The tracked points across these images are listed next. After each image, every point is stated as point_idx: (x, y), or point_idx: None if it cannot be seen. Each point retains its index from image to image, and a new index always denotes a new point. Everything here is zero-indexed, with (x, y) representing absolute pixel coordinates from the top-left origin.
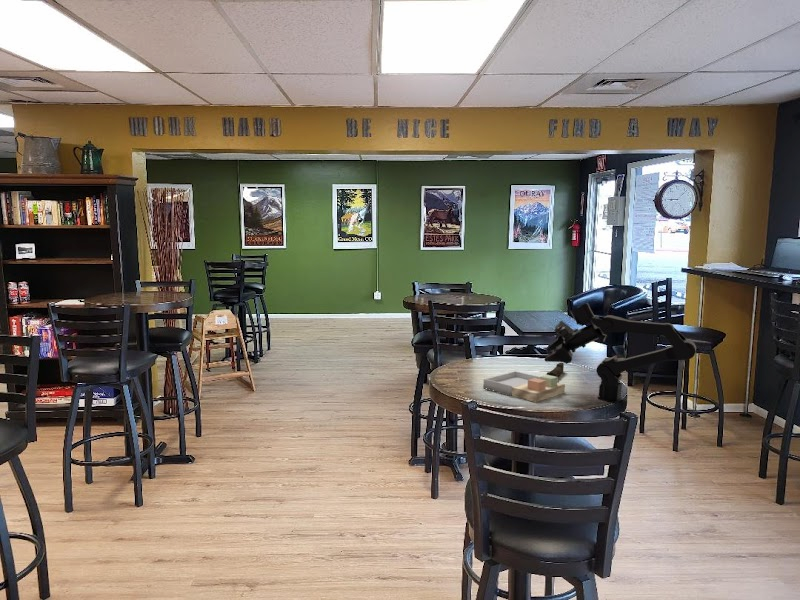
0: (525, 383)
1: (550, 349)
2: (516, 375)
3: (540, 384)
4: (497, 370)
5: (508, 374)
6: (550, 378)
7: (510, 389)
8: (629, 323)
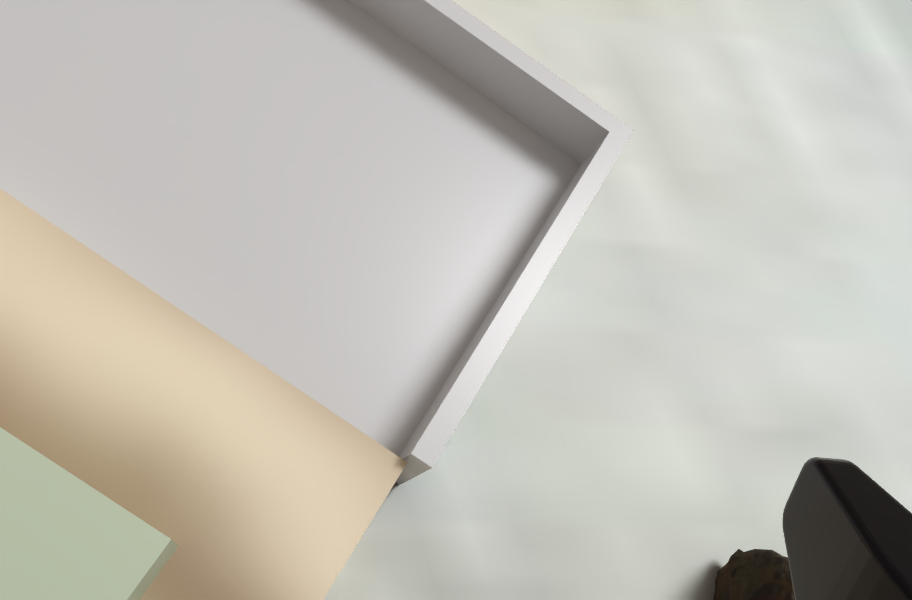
0: (24, 212)
1: (807, 591)
2: (580, 170)
3: None
4: (856, 63)
5: (478, 52)
6: None
7: None
8: None
